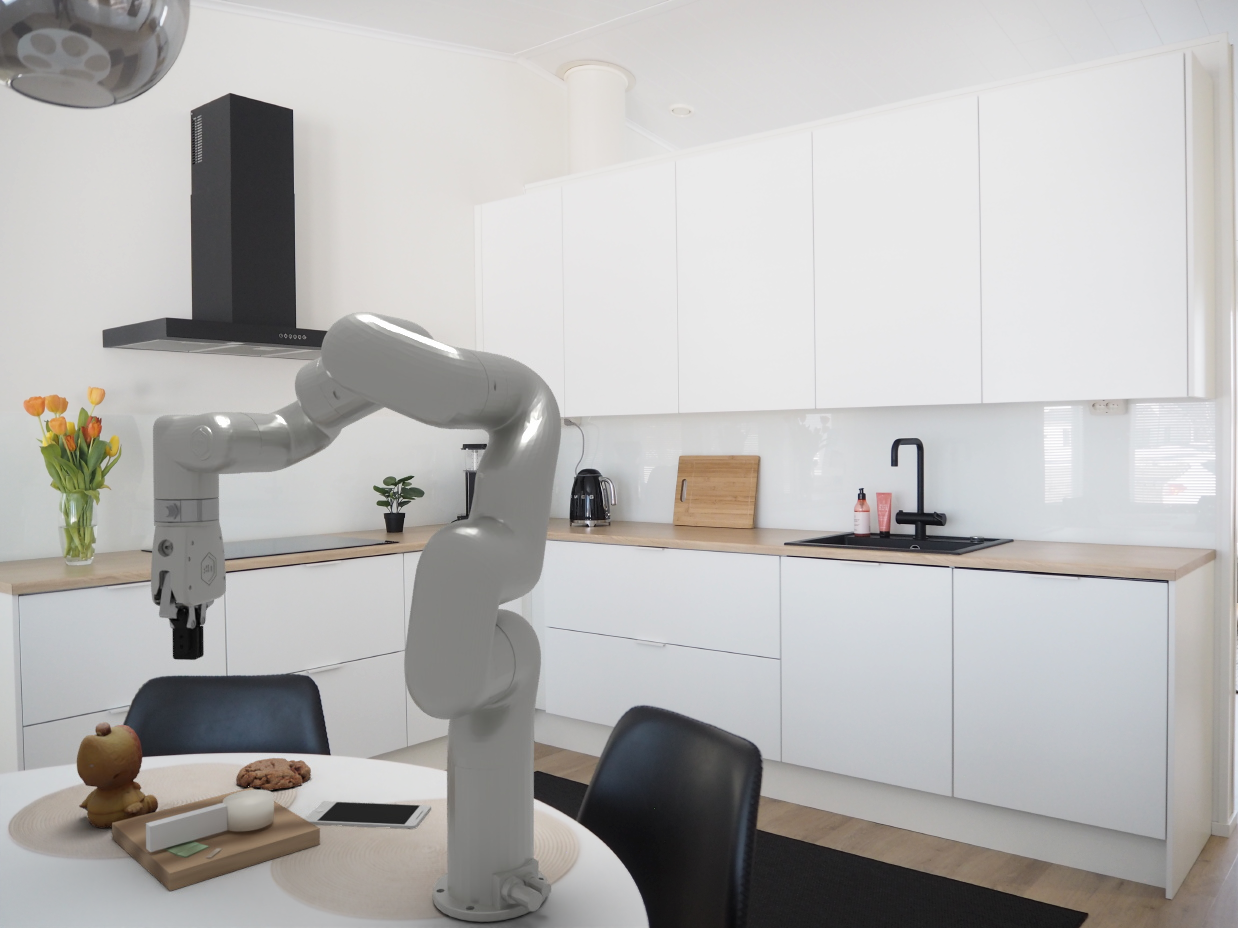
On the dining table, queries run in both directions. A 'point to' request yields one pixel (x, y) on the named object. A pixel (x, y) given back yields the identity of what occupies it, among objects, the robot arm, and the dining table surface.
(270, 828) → the tuner board
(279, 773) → the cookie
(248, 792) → the peg dial
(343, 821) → the smartphone
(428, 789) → the dining table surface
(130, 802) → the figurine
